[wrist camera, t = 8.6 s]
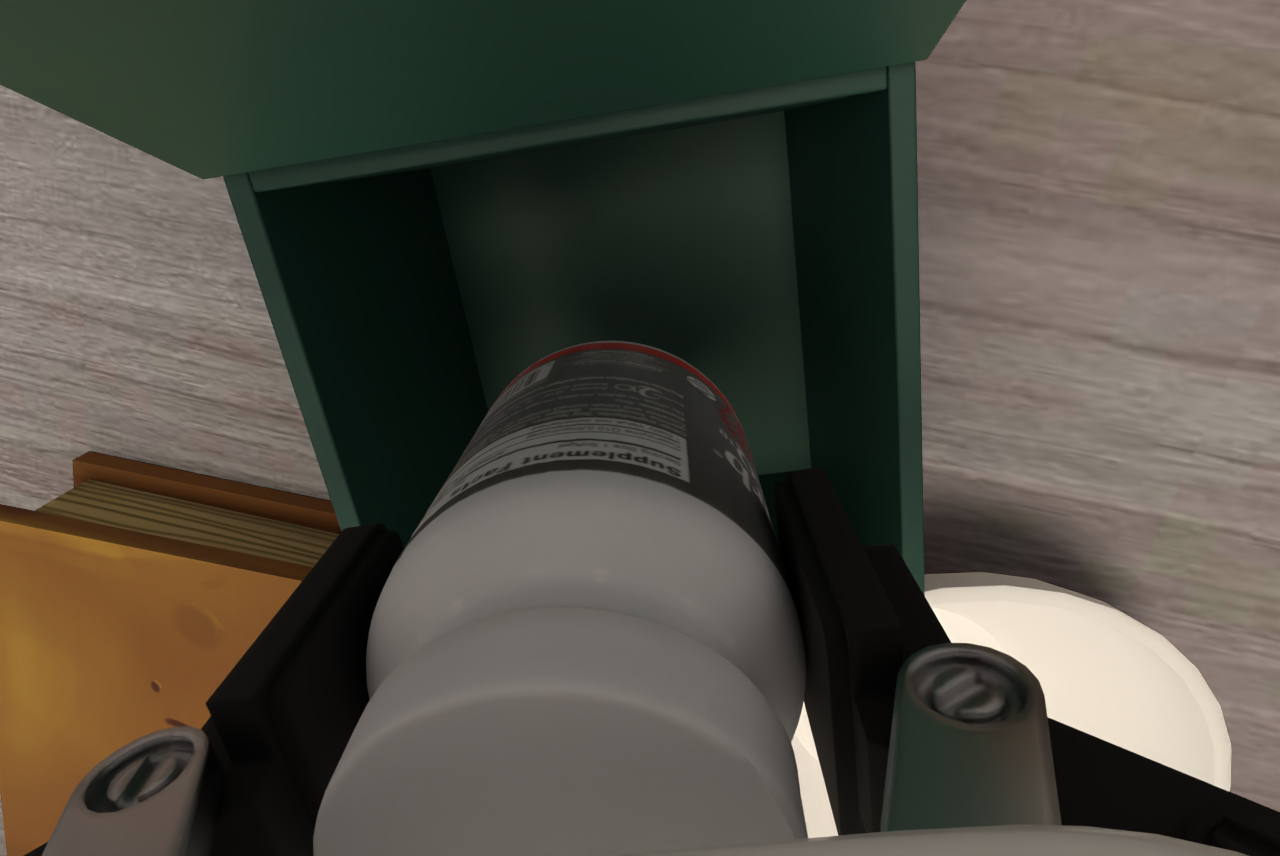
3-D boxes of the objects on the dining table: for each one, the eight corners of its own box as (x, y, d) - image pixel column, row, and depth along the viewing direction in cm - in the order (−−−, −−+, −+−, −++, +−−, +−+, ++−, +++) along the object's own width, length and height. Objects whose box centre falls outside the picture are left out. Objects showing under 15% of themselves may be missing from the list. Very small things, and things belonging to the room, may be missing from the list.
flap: (202, 180, 14) (199, 158, 14) (927, 60, 13) (924, 36, 13) (-296, -52, 7) (-302, -96, 7) (1202, -353, 6) (1196, -405, 6)
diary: (469, 916, 40) (439, 1038, 34) (108, 852, 38) (19, 969, 33) (544, 544, 31) (520, 628, 26) (88, 450, 30) (-35, 517, 25)
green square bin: (417, 154, 26) (219, 170, 14) (795, 92, 25) (916, 54, 13) (504, 513, 31) (410, 741, 19) (822, 472, 30) (927, 688, 18)
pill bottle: (750, 568, 17) (861, 1081, 8) (503, 582, 17) (329, 1095, 8) (743, 321, 15) (883, 622, 6) (462, 342, 15) (165, 660, 6)
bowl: (1217, 650, 32) (1354, 776, 26) (905, 902, 38) (954, 1054, 32) (878, 399, 29) (941, 474, 22) (591, 721, 35) (576, 853, 28)
